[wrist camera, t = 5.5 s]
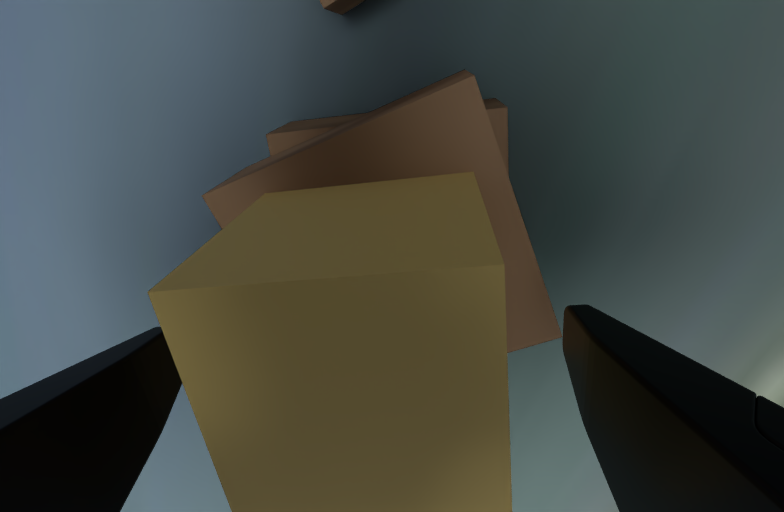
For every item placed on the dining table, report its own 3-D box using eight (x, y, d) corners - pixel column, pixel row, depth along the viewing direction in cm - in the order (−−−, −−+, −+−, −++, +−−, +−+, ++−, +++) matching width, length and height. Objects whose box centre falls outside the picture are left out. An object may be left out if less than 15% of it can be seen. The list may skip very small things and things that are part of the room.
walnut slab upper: (464, 69, 12) (474, 75, 10) (538, 284, 15) (562, 337, 12) (246, 166, 14) (201, 195, 11) (345, 345, 16) (328, 405, 14)
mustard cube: (473, 171, 10) (504, 264, 6) (483, 352, 12) (512, 526, 8) (264, 193, 11) (147, 292, 7) (306, 361, 13) (238, 527, 8)
